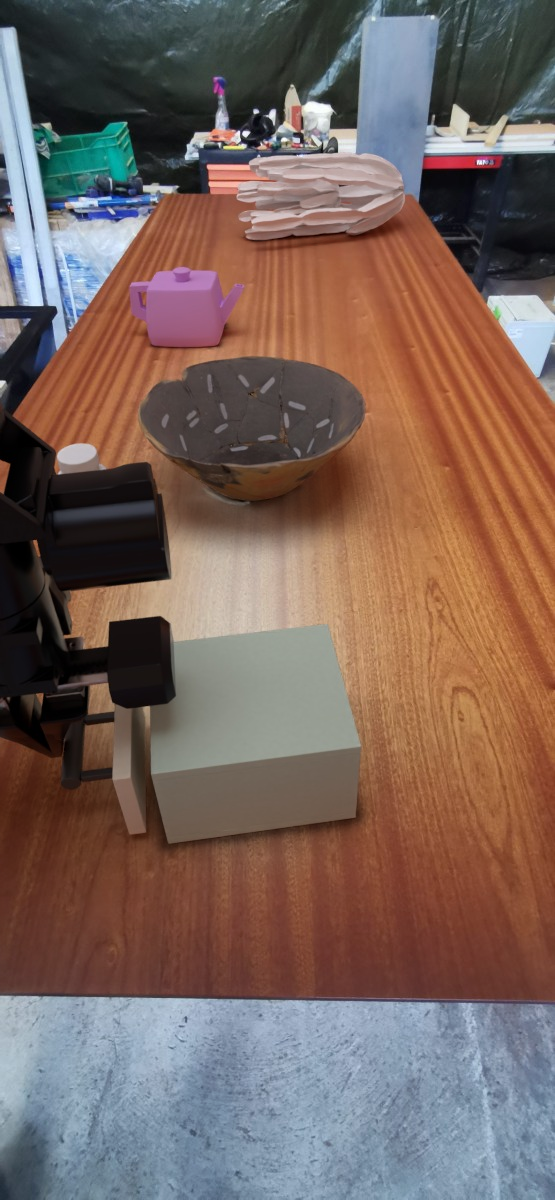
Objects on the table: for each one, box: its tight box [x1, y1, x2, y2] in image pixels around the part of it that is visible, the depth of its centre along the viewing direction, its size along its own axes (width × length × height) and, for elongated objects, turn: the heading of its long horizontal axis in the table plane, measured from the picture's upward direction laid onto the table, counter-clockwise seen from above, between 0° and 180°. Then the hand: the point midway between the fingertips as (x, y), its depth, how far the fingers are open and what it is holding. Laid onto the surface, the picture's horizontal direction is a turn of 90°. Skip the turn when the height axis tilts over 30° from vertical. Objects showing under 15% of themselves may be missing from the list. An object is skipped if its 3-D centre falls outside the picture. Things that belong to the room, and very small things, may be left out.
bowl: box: [137, 355, 366, 502], centre depth 83 cm, size 25×25×10 cm
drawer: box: [59, 704, 147, 835], centre depth 54 cm, size 17×10×7 cm, turn 98°
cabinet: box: [149, 623, 362, 845], centre depth 54 cm, size 14×12×9 cm
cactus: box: [235, 151, 406, 241], centre depth 151 cm, size 17×18×35 cm
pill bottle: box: [56, 442, 107, 474], centre depth 77 cm, size 5×5×10 cm
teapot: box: [128, 266, 245, 348], centre depth 115 cm, size 18×10×10 cm, turn 86°
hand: (57, 752), depth 53 cm, fingers closed
